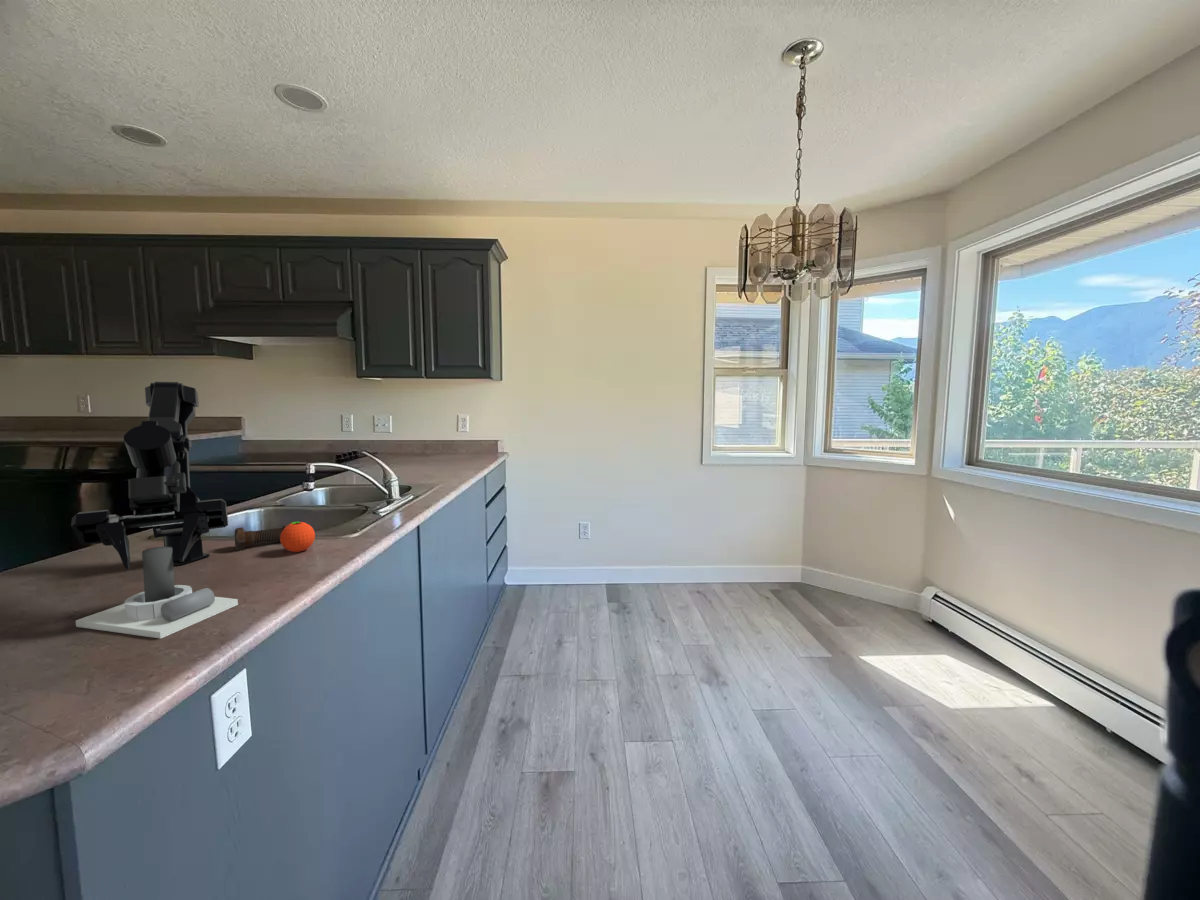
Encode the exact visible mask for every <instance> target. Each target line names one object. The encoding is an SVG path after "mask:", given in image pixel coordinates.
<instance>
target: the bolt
mask: <svg viewBox="0 0 1200 900" xmlns="http://www.w3.org/2000/svg"><path fill="white" fill-rule="evenodd" d="M290 523H291V522H289V523H284V524H282V527H275V528H268V529H262V530H261V529H259V530H248V531H247V530H246V531H245V529H244V527H236V528H235V529H234V547H235V550H236V551H237V552H239V551H240V550H241V551H245V549H246V547H247V546H252V545H257V544H263V543H265V544H266V543H272V542H279V541H280V535H281V533H282V531H283V529H284V528H285V527H286V526H288V525H289V524H290ZM280 542H281V541H280Z"/></svg>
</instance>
